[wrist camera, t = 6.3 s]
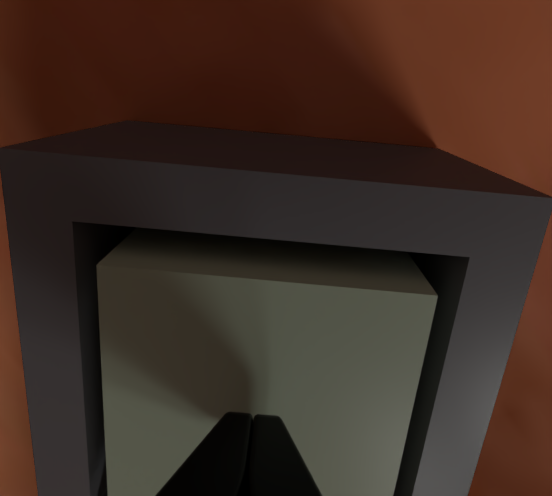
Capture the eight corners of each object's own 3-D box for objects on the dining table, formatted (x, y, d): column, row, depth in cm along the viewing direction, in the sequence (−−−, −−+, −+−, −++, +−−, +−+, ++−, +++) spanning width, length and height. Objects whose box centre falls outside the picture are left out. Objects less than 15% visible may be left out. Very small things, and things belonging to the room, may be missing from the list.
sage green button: (382, 217, 11) (437, 296, 7) (352, 396, 12) (382, 544, 8) (168, 198, 11) (96, 265, 7) (167, 380, 12) (108, 519, 8)
